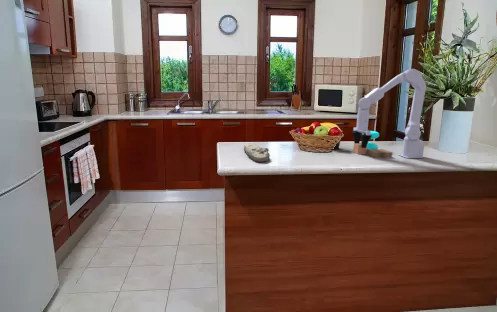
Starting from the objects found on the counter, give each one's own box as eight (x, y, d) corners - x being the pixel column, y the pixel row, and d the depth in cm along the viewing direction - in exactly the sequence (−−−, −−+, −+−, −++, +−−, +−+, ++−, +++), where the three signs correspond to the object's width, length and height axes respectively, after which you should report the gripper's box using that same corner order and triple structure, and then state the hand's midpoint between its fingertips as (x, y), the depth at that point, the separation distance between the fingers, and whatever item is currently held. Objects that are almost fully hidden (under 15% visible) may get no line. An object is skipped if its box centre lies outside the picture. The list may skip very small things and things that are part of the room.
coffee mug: (328, 150, 194) (330, 132, 192) (322, 147, 203) (323, 129, 200) (348, 149, 197) (350, 131, 194) (341, 146, 205) (342, 129, 203)
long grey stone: (258, 150, 198) (240, 151, 196) (257, 141, 197) (240, 142, 195) (274, 162, 164) (253, 163, 162) (273, 150, 163) (252, 152, 161)
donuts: (360, 129, 203) (378, 131, 200) (358, 147, 205) (377, 148, 202) (360, 132, 193) (380, 133, 191) (359, 150, 196) (378, 151, 193)
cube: (361, 152, 191) (362, 143, 190) (366, 154, 187) (367, 144, 186) (353, 152, 191) (353, 143, 189) (357, 154, 186) (358, 145, 185)
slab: (381, 154, 188) (382, 148, 188) (391, 158, 180) (392, 152, 179) (366, 154, 187) (366, 149, 186) (375, 158, 178) (375, 152, 178)
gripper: (349, 119, 191) (346, 143, 194) (362, 122, 177) (359, 149, 180) (361, 119, 192) (358, 143, 195) (375, 122, 178) (372, 149, 181)
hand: (360, 146), depth 188 cm, fingers open, 7 cm apart
